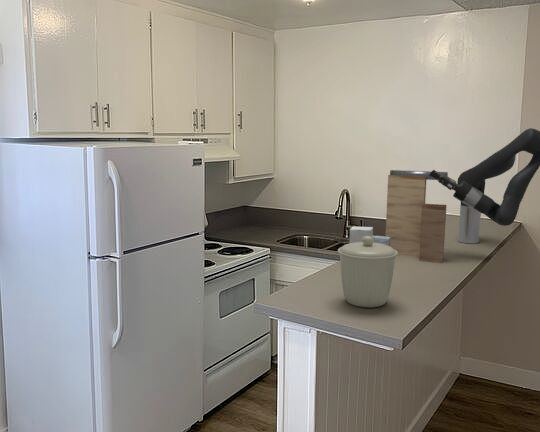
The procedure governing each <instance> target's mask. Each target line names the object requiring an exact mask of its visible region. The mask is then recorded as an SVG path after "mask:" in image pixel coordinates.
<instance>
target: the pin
mask: <svg viewBox="0 0 540 432" xmlns="http://www.w3.org/2000/svg"><path fill="white" fill-rule="evenodd" d="M431 172H432V171H428V170H427V171H426V170H423V171H421V170H400V169H395V170H394V169H391V170H390V171H389V175H404V176H426V177H425V180H426V181H427V180H428V181H437V180H438V179H435V178H433V177H432V176H430V173H431ZM436 173H438V174H439V175H441V176H443V177H445V178H446V177H447V178H448V177H449V175H448V174H449V172H448V171H437V172H436ZM443 180H444V179H443Z"/></svg>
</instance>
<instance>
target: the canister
mask: <svg viewBox="0 0 540 432" xmlns="http://www.w3.org/2000/svg"><path fill="white" fill-rule="evenodd" d="M373 242H374V239H373V237H371V236H364V237H363V238H362V242H356V243H350V242H349V243H346V244H344V245H342V246H341V247H339V248H338V249H337V252H338V253H337V254H339V258H340V259H339V262H340V271H341V273H340V274H341V283H342V293H343V297H344V299H345V301H346V302H347V303H349V304H350V305H352V306H355V307H360V308H379V307H382V306H383V305H385V304H386V303H387V302H388V300H389V296H390V293H391V287H392V282H393V281H392V280H393V275H394V267H395V263H396V262H395V261H396V257H397V256H398V252H397V251H396V250H394V249H393V248H392V247H390V246H388V245H385V244H380V243H373Z"/></svg>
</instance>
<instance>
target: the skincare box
mask: <svg viewBox="0 0 540 432" xmlns="http://www.w3.org/2000/svg"><path fill="white" fill-rule="evenodd" d="M364 236H371V237H373V236H374V227H373V226H352V227H351V228H350V229H349V243H356V242H362V238H363V237H364Z"/></svg>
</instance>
